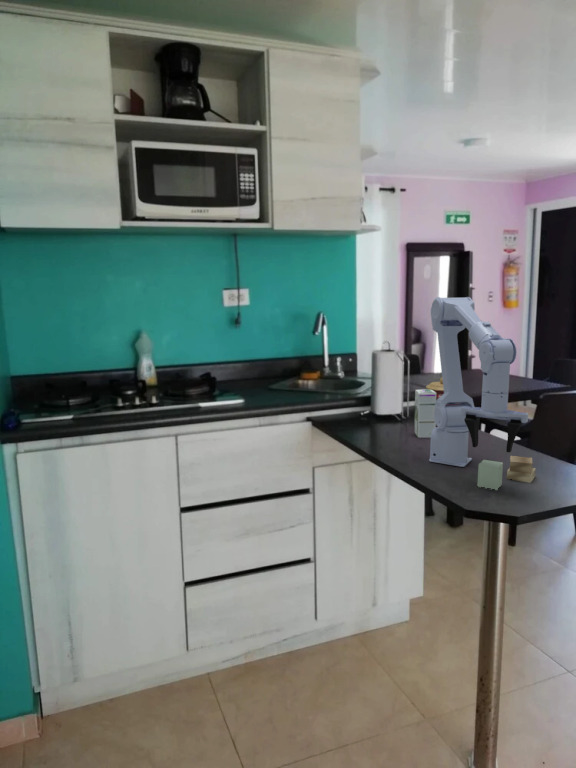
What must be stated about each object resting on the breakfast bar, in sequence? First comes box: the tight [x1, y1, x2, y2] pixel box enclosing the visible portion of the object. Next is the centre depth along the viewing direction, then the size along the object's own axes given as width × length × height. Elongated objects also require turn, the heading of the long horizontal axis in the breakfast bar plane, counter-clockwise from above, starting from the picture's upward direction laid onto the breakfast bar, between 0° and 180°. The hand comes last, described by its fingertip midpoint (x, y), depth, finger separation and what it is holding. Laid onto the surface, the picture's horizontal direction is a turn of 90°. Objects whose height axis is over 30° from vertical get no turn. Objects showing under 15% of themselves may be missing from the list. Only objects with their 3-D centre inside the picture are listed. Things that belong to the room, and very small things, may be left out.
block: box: [476, 459, 504, 491], centre depth 133 cm, size 4×4×6 cm
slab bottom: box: [506, 467, 536, 484], centre depth 138 cm, size 6×6×2 cm
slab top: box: [509, 455, 533, 474], centre depth 138 cm, size 5×5×2 cm
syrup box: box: [413, 388, 436, 439], centre depth 177 cm, size 6×6×14 cm
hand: (491, 448), depth 132 cm, fingers open, 7 cm apart
